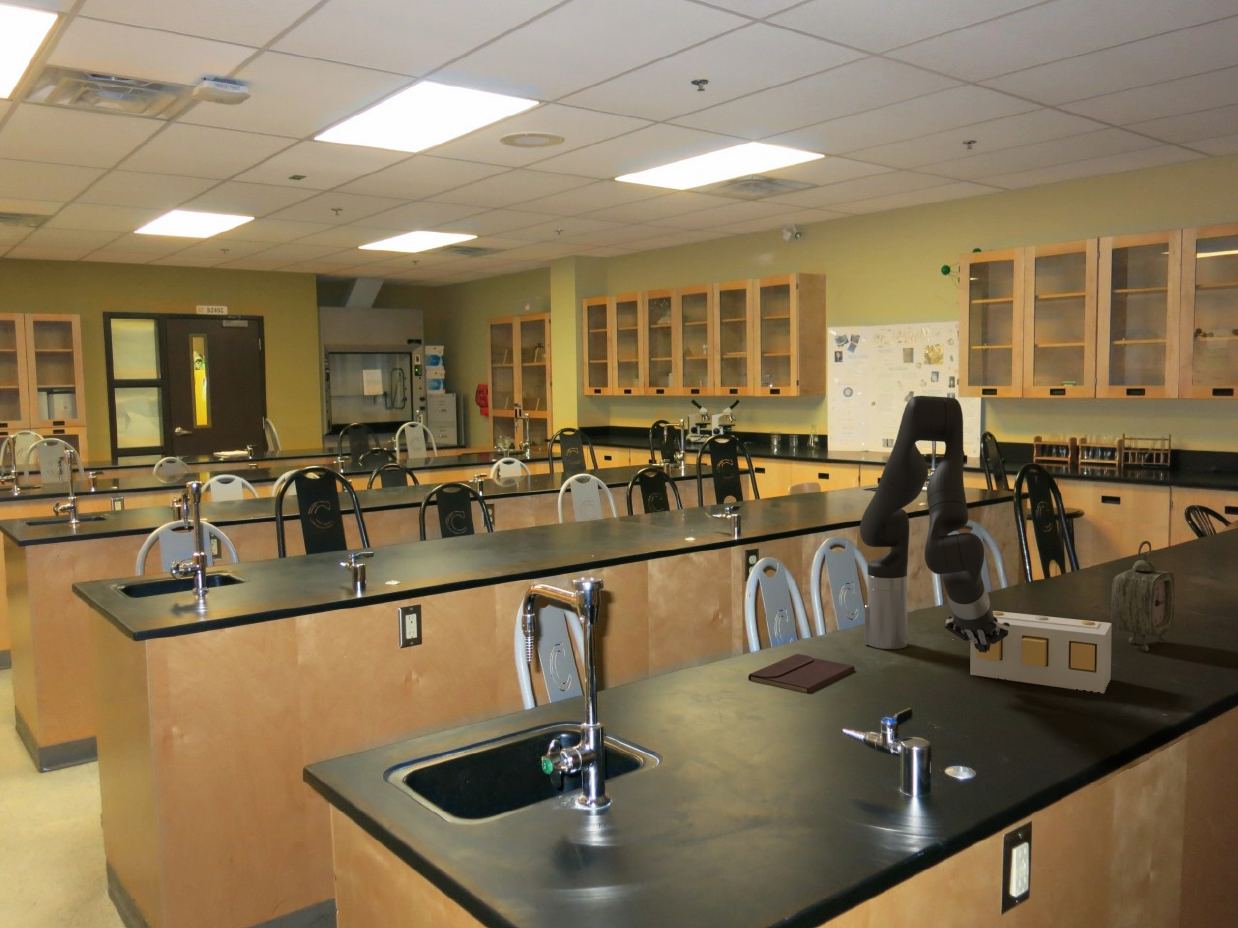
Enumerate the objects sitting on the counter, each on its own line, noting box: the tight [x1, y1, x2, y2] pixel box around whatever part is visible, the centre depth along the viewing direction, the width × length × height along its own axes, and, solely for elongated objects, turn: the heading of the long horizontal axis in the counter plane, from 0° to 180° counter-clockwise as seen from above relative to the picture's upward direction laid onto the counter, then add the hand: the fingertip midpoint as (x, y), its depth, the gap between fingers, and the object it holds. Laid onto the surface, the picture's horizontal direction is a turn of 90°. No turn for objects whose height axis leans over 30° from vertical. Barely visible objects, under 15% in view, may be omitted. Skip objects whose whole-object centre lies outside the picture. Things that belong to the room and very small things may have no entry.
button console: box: [969, 610, 1113, 694], centre depth 204 cm, size 26×11×12 cm, turn 57°
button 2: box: [1071, 641, 1097, 671], centre depth 196 cm, size 4×3×5 cm
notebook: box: [747, 653, 856, 694], centre depth 209 cm, size 15×20×2 cm
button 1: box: [977, 632, 1002, 661], centre depth 204 cm, size 4×3×5 cm
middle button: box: [1022, 636, 1047, 667], centre depth 199 cm, size 4×3×5 cm
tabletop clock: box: [1110, 540, 1175, 653], centre depth 226 cm, size 14×9×25 cm, turn 131°
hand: (983, 648), depth 200 cm, fingers closed
